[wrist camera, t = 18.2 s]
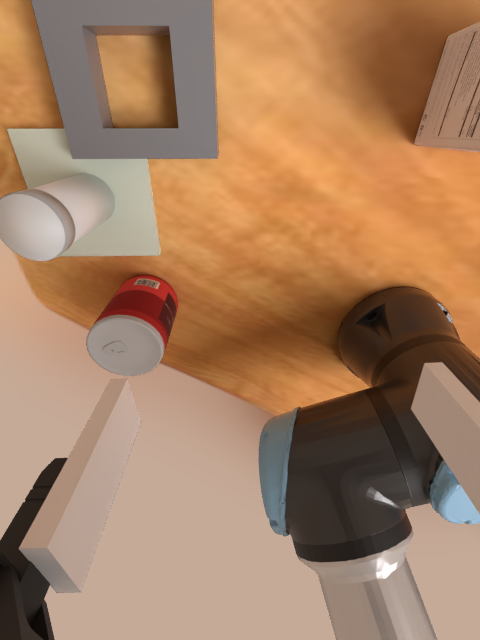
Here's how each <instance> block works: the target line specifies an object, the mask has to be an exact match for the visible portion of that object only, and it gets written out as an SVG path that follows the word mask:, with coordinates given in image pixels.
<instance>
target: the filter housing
mask: <svg viewBox="0 0 480 640" xmlns="http://www.w3.org/2000/svg"><path fill="white" fill-rule="evenodd" d="M31 2H32V6H33V10H34V14H35V17H36V21H37V25H38V29H39V33H40V37H41V41H42V44H43V48H44V52H45V56H46V60H47V64H48V67H49V71H50V75H51V79H52V83H53V87H54V90H55V94H56V98H57V102H58V106H59V110H60V114H61V117H62V121H63V125H64V129H65V133H66V137H67V140H68V144H69V148H70V152H71V156H72V159H218V157H219V149H218V120H217V92H216V63H215V34H214V5H213V0H31ZM96 35H170V40H171V51H172V62H173V73H174V84H175V95H176V106H177V116H178V127H179V128H113V124H112V118H111V113H110V108H109V102H108V97H107V92H106V86H105V81H104V76H103V71H102V65H101V60H100V55H99V49H98V44H97V39H96Z"/></svg>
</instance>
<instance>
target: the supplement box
mask: <svg viewBox="0 0 480 640" xmlns="http://www.w3.org/2000/svg"><path fill="white" fill-rule="evenodd" d="M414 145H416V146H424V147H433V148H443V149H452V150H461V151H472V152H480V22H478V23H475V24H473V25H471V26H469V27H466V28H464V29H462V30H460V31H458V32H455V33H453V34H451V35H449V36H448V38H447V41H446V44H445V47H444V50H443V53H442V56H441V59H440V63H439V66H438V69H437V72H436V75H435V78H434V81H433V85H432V88H431V91H430V94H429V97H428V100H427V104H426V107H425V110H424V113H423V116H422V120H421V123H420V126H419V129H418V132H417V135H416V138H415V142H414Z"/></svg>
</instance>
